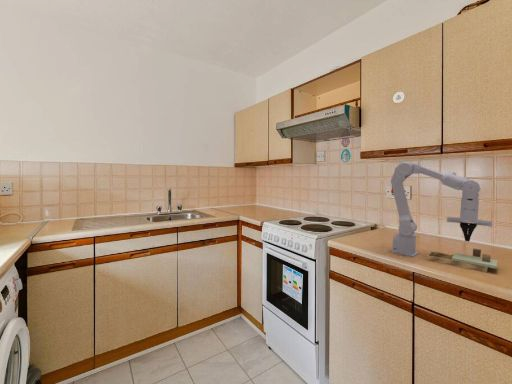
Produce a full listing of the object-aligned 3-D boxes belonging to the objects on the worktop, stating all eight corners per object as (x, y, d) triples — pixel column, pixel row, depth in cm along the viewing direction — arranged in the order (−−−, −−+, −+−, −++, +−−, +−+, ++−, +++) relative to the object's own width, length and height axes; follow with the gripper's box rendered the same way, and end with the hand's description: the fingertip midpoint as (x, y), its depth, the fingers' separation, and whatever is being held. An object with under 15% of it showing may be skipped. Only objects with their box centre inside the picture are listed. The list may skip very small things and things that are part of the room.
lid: (451, 260, 103) (452, 251, 103) (455, 255, 110) (455, 247, 110) (496, 268, 94) (497, 259, 94) (497, 262, 100) (498, 254, 100)
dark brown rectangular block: (472, 261, 109) (473, 248, 109) (480, 263, 108) (481, 249, 107) (472, 263, 108) (473, 249, 107) (479, 264, 106) (480, 250, 106)
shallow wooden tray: (426, 261, 110) (426, 255, 109) (431, 256, 117) (431, 251, 116) (486, 273, 96) (487, 267, 96) (488, 267, 103) (488, 261, 103)
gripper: (446, 208, 108) (444, 239, 109) (492, 211, 98) (490, 246, 98) (449, 206, 113) (447, 236, 114) (493, 210, 102) (491, 242, 103)
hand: (467, 240), depth 106 cm, fingers closed
